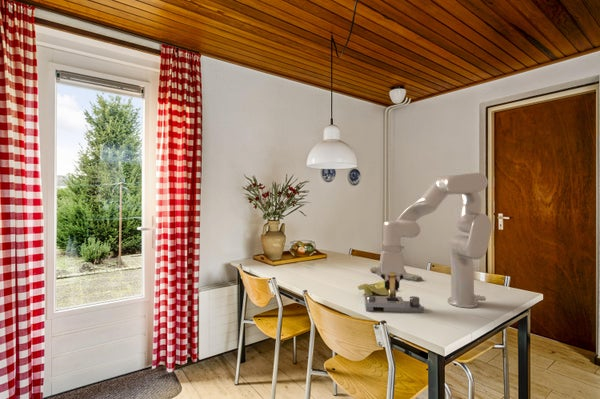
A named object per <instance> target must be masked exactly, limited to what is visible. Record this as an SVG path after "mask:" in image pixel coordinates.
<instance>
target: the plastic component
mask: <svg viewBox="0 0 600 399" xmlns="http://www.w3.org/2000/svg"><path fill="white" fill-rule="evenodd" d="M357 289H358V290H359V291H361V290H364V294H365V296H370V295H371V296H373V293H375V294H377V295H378V296H388V290H386V288H385V280H384V279H383V280H382V281H379V282H375V283H370V284H368V283H363V284H361V285H358V286H357Z"/></svg>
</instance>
